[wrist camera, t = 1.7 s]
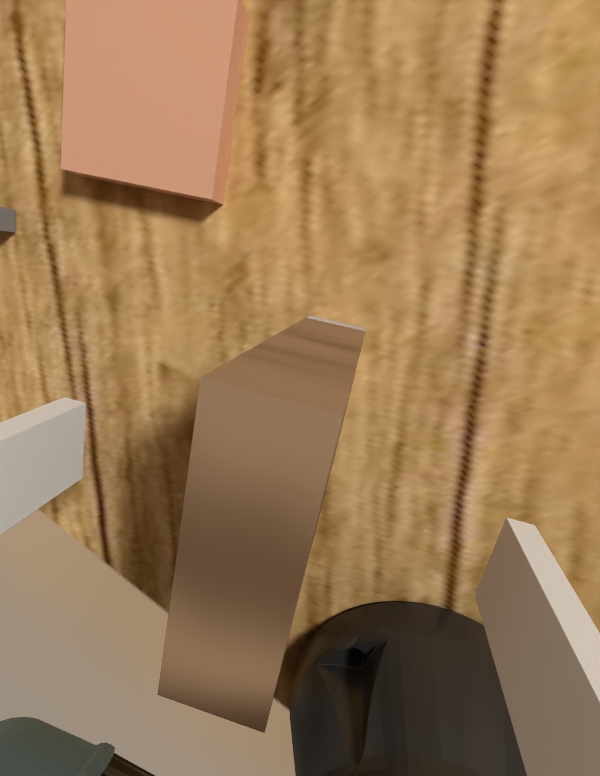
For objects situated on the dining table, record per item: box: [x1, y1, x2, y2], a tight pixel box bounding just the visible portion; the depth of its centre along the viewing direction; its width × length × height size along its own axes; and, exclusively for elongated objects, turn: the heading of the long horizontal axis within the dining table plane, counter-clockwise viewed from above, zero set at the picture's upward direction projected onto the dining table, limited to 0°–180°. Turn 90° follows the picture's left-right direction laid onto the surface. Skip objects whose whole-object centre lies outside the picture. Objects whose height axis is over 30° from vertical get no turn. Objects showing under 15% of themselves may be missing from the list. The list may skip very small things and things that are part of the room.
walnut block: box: [158, 316, 366, 732], centre depth 16 cm, size 9×3×14 cm, turn 168°
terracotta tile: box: [61, 0, 249, 205], centre depth 20 cm, size 8×8×2 cm
